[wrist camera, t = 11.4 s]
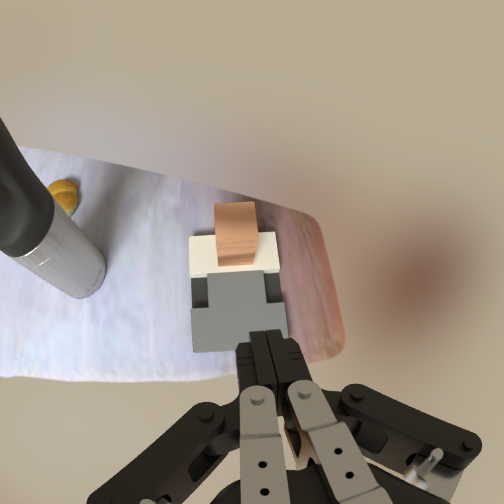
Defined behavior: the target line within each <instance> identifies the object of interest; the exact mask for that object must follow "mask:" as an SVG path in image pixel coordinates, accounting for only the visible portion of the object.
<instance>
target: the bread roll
mask: <svg viewBox="0 0 504 504" xmlns="http://www.w3.org/2000/svg"><path fill="white" fill-rule="evenodd" d="M47 190H48V191H49V192H50V193H51V195H52V196H53V197H54V198H55V200H56V201H57V202H58V203H59V205H60V206H61V207H62V208H63V209H64V210H65V212H66V213H67V214H68V215H69V216H70V217H71V216H72V214H73V212H74V210H75V208H76V206H77V187H76V185H75V184H74V183H73V182H71V181H69V180H58V181H55V182H53V183H52V184H50V185H49V186H48V188H47Z"/></svg>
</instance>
